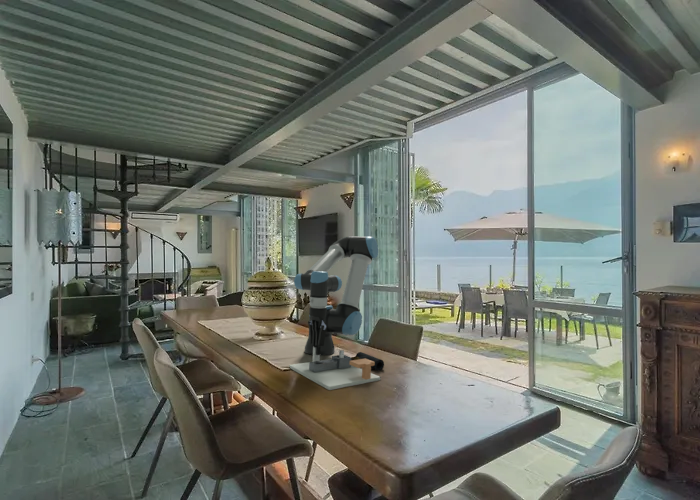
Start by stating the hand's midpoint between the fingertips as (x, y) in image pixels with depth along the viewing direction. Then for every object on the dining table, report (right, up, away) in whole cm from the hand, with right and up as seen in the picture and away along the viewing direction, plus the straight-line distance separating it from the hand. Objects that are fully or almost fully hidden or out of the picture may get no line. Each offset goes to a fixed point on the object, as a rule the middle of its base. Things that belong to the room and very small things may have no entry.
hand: (316, 361), depth 165 cm
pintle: (+11, -3, -1) cm, 11 cm away
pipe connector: (+21, -4, +4) cm, 21 cm away
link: (+6, -1, -5) cm, 8 cm away
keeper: (+20, -3, -14) cm, 24 cm away
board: (+8, -3, -7) cm, 11 cm away
